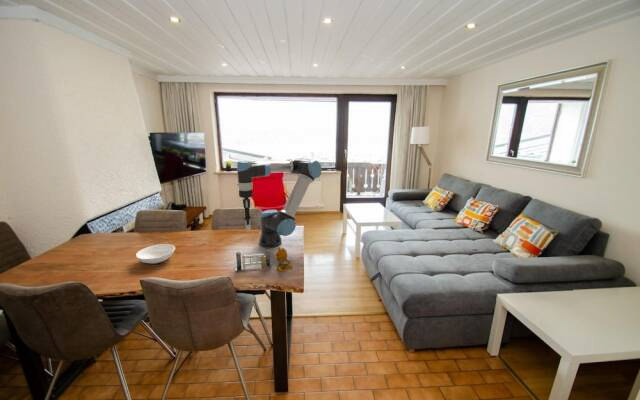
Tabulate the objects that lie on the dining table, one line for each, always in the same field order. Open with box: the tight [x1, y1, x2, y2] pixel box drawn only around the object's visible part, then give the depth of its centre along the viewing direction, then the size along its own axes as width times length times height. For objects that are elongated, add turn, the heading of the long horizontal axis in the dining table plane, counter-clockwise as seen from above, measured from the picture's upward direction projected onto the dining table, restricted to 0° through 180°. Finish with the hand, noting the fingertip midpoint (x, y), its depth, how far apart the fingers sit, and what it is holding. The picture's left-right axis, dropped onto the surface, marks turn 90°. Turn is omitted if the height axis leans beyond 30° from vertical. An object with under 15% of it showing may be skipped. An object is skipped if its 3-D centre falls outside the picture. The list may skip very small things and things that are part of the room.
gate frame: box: [234, 248, 271, 273], centre depth 149 cm, size 4×19×10 cm, turn 105°
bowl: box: [135, 243, 176, 264], centre depth 156 cm, size 20×20×6 cm
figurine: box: [272, 246, 293, 272], centre depth 149 cm, size 8×11×12 cm
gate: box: [241, 252, 265, 269], centre depth 149 cm, size 12×1×8 cm, turn 104°
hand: (248, 229), depth 152 cm, fingers closed
